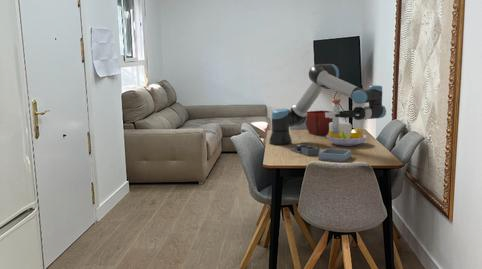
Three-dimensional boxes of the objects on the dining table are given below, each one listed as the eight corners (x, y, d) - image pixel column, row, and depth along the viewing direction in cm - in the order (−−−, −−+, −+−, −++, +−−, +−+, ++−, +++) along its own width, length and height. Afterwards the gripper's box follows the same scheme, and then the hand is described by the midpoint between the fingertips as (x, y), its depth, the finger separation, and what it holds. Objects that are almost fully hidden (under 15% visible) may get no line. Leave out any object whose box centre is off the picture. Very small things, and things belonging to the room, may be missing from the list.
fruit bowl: (337, 139, 339) (337, 124, 337) (373, 143, 322) (374, 126, 320) (317, 145, 317) (317, 128, 315) (354, 150, 300) (355, 132, 298)
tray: (318, 159, 272) (318, 152, 271) (326, 155, 285) (326, 148, 285) (344, 162, 265) (344, 154, 265) (351, 157, 278) (351, 150, 278)
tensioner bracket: (290, 150, 301) (290, 144, 300) (303, 149, 304) (303, 143, 304) (307, 156, 283) (307, 149, 282) (320, 154, 286) (320, 148, 286)
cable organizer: (330, 139, 340) (330, 123, 338) (328, 137, 350) (329, 121, 348) (351, 139, 338) (351, 123, 336) (349, 137, 348) (350, 121, 347)
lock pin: (330, 133, 272) (330, 99, 269) (332, 132, 276) (333, 99, 273) (338, 133, 270) (339, 100, 267) (340, 132, 274) (341, 99, 271)
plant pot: (302, 133, 372) (302, 111, 369) (323, 131, 380) (323, 110, 377) (316, 136, 355) (316, 113, 352) (337, 134, 363) (337, 112, 360)
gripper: (370, 121, 271) (336, 123, 262) (352, 118, 286) (319, 120, 277) (371, 107, 270) (336, 110, 261) (353, 105, 285) (319, 107, 276)
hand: (327, 115), depth 269 cm, fingers closed on lock pin, 3 cm apart
